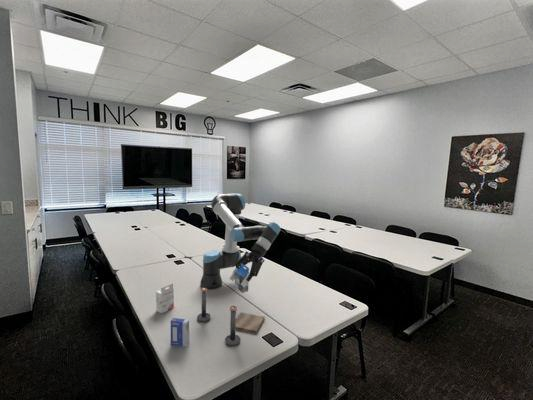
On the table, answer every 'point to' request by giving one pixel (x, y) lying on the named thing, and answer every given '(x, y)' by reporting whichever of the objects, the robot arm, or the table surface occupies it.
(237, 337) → the cord stand near
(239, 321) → the walnut board
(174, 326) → the walkman
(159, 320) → the table surface
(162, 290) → the ink cartridge box
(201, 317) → the cord stand far
